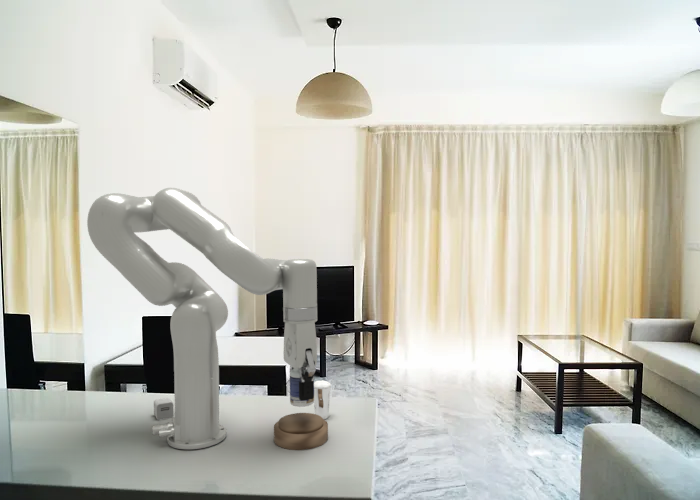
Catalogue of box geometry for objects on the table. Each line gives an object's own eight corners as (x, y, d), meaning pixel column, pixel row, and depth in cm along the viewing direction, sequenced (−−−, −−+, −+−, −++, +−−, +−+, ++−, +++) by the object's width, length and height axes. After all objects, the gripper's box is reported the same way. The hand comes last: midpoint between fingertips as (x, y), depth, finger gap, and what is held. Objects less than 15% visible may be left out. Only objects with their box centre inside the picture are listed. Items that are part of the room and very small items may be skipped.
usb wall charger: (156, 420, 120) (156, 404, 120) (152, 412, 126) (152, 397, 126) (173, 417, 122) (173, 401, 122) (168, 409, 128) (168, 394, 128)
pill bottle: (313, 407, 105) (312, 362, 105) (288, 407, 105) (287, 363, 105) (315, 399, 111) (314, 357, 111) (291, 399, 111) (291, 357, 111)
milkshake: (333, 420, 119) (333, 380, 119) (311, 420, 119) (311, 380, 119) (334, 414, 123) (334, 375, 123) (313, 414, 124) (313, 375, 123)
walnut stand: (283, 454, 100) (283, 435, 100) (267, 433, 111) (267, 416, 111) (336, 443, 105) (336, 425, 105) (316, 424, 116) (316, 408, 116)
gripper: (273, 311, 114) (274, 387, 114) (296, 321, 98) (298, 410, 99) (303, 308, 117) (304, 383, 117) (330, 318, 102) (332, 404, 102)
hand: (301, 394), depth 108 cm, fingers closed on pill bottle, 5 cm apart
